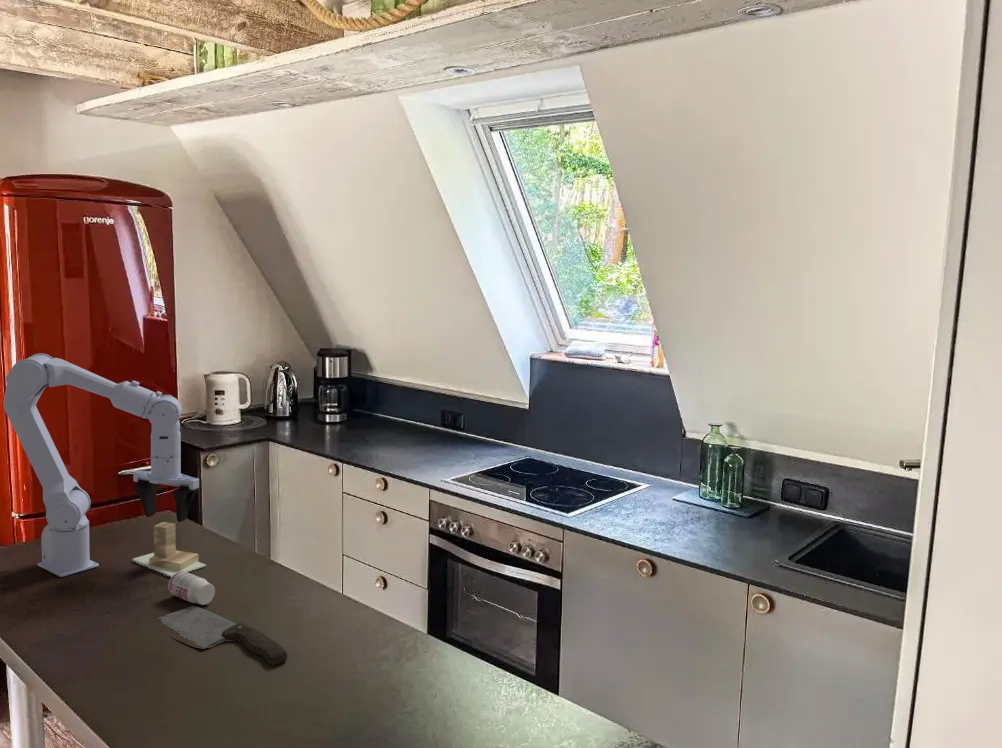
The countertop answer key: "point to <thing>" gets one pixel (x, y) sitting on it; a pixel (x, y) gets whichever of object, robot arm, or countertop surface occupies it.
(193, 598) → the pill bottle
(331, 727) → the countertop surface
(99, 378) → the robot arm
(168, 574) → the board
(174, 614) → the cleaver
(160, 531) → the wooden post on base
